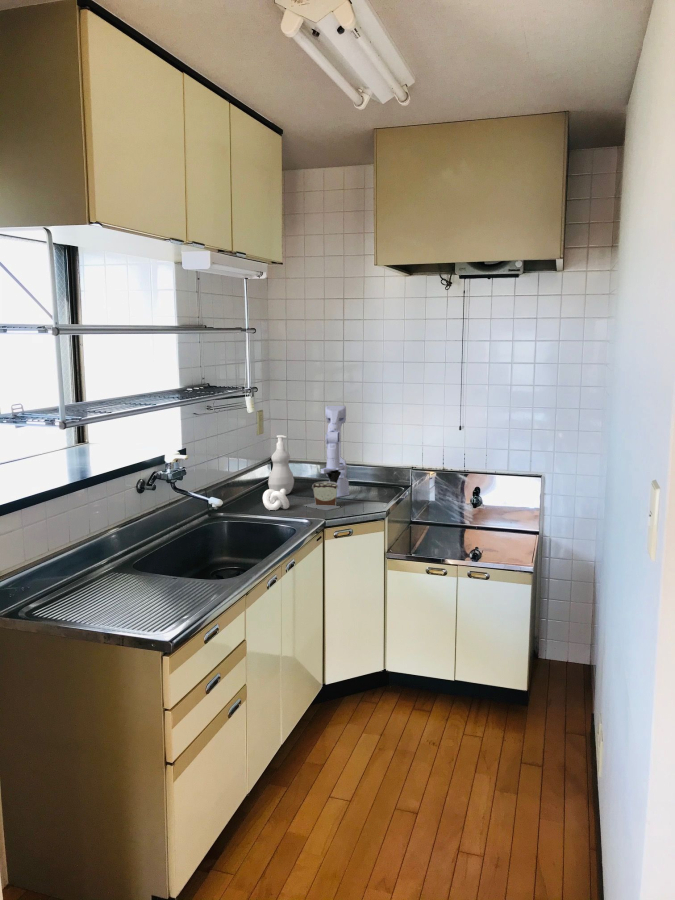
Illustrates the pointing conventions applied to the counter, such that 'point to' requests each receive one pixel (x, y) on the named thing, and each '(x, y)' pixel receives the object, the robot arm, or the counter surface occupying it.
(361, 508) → the counter surface
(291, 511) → the counter surface
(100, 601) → the counter surface
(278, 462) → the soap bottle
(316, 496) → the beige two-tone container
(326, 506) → the mat
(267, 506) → the white knot
